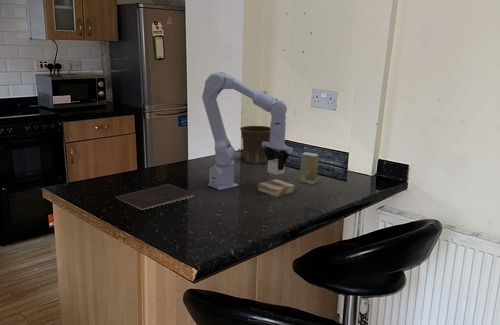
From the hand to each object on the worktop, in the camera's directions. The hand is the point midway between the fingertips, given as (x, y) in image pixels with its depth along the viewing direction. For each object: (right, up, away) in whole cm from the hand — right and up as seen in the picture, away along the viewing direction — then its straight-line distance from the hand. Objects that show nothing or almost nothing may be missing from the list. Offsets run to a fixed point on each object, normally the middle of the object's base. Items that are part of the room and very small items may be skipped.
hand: (275, 168), depth 172 cm
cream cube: (0, -2, +1) cm, 2 cm away
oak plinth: (0, -9, +1) cm, 9 cm away
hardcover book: (-43, -12, -13) cm, 47 cm away
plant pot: (-7, +3, +46) cm, 47 cm away
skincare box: (+14, -6, +14) cm, 21 cm away
